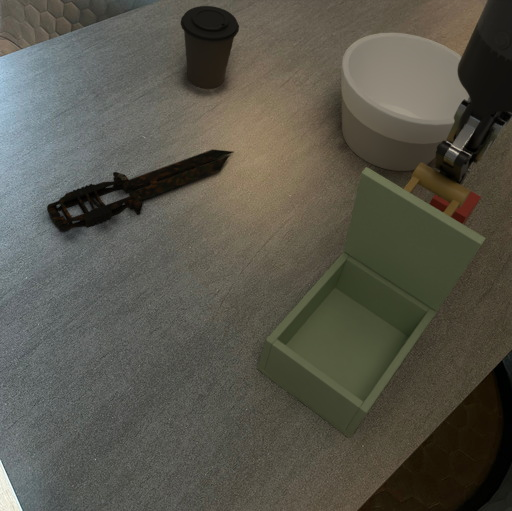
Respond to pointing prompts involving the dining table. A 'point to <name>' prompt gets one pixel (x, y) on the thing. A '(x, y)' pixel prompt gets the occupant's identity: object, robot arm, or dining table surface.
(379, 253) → the lid
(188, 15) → the coffee cup
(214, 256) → the dining table surface
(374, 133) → the bowl
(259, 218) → the dining table surface
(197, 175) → the knife
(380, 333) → the chest
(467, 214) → the block
